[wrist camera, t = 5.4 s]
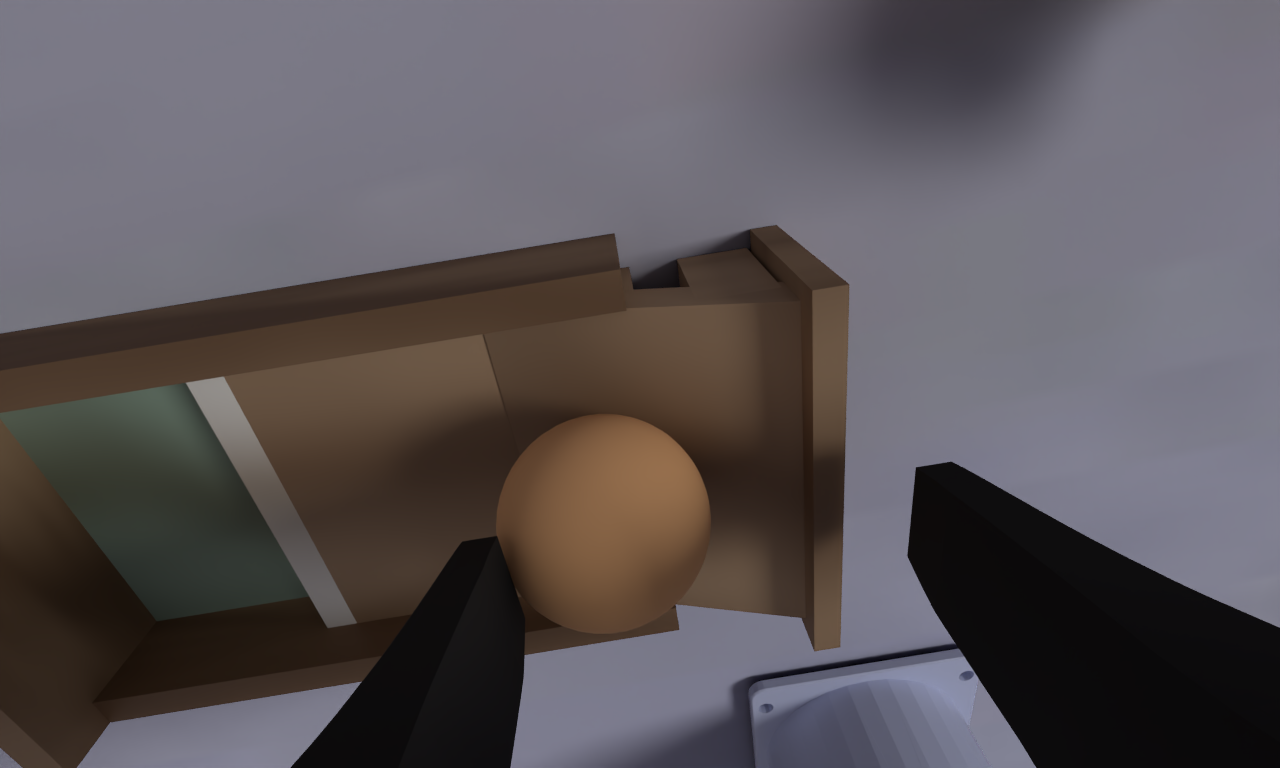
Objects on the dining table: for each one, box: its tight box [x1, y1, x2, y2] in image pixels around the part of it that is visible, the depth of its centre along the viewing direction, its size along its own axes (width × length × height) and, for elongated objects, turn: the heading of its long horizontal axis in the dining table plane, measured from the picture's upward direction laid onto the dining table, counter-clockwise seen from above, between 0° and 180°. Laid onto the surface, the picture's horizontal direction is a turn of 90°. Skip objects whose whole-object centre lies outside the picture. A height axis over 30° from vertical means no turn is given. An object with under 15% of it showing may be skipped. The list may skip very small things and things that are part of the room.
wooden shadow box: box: [0, 225, 849, 768], centre depth 13 cm, size 10×19×4 cm, turn 98°
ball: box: [496, 414, 711, 634], centre depth 11 cm, size 4×4×4 cm
